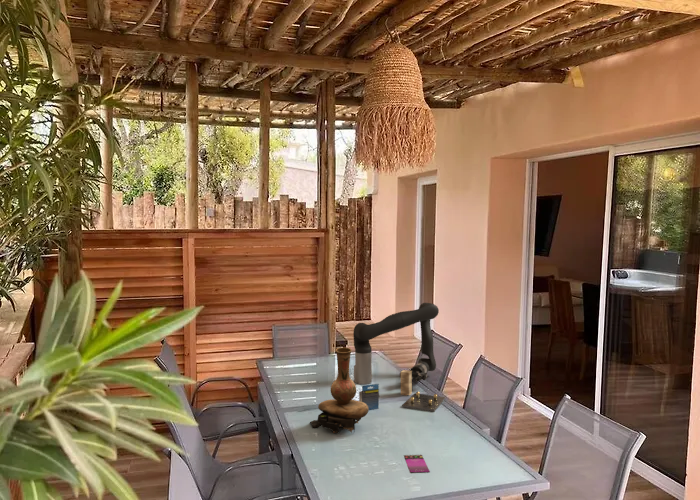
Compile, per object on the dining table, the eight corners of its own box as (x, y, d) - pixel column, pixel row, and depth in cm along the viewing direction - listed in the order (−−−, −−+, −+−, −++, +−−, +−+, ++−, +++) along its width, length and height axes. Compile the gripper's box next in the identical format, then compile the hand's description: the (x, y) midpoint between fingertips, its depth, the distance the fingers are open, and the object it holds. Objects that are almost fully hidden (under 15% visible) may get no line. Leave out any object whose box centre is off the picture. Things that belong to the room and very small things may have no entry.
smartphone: (422, 456, 211) (422, 454, 211) (430, 473, 196) (430, 470, 196) (403, 457, 211) (403, 455, 211) (410, 473, 196) (410, 471, 196)
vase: (318, 439, 227) (317, 355, 226) (307, 420, 249) (307, 344, 247) (372, 432, 234) (372, 351, 232) (357, 415, 255) (357, 341, 254)
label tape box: (375, 406, 268) (375, 381, 267) (379, 408, 264) (379, 383, 264) (358, 408, 265) (358, 383, 264) (362, 411, 261) (362, 385, 260)
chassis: (402, 407, 266) (402, 399, 266) (414, 395, 284) (414, 388, 284) (434, 411, 259) (434, 404, 259) (445, 399, 277) (445, 392, 277)
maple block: (400, 394, 286) (400, 371, 285) (403, 392, 290) (403, 369, 289) (408, 395, 284) (408, 372, 283) (411, 393, 288) (411, 370, 288)
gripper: (406, 363, 309) (396, 370, 294) (430, 366, 303) (422, 373, 288) (406, 376, 309) (396, 384, 295) (430, 379, 304) (422, 387, 289)
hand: (409, 378), depth 292 cm, fingers open, 8 cm apart
